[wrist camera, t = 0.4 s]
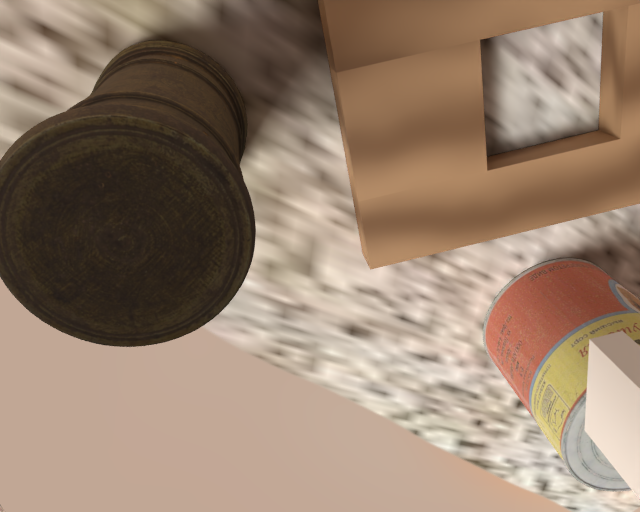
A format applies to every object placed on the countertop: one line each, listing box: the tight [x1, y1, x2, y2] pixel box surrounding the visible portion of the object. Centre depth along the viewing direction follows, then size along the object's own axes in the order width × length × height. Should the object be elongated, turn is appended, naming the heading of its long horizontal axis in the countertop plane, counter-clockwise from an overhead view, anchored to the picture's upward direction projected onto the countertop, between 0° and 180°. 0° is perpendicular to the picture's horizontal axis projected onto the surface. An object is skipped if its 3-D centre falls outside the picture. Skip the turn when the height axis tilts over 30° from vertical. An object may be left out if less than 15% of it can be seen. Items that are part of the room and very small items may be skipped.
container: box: [0, 41, 256, 347], centre depth 26 cm, size 9×9×18 cm
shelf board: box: [318, 0, 640, 269], centre depth 34 cm, size 23×22×2 cm
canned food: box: [483, 258, 640, 491], centre depth 39 cm, size 11×11×12 cm
